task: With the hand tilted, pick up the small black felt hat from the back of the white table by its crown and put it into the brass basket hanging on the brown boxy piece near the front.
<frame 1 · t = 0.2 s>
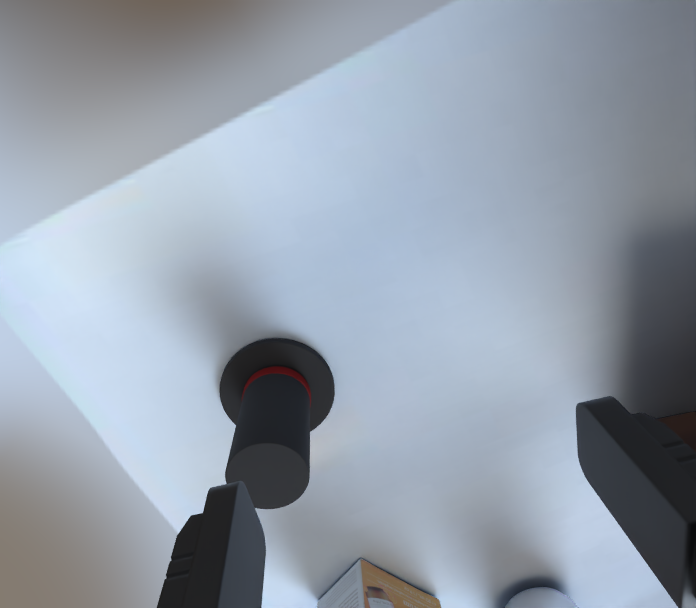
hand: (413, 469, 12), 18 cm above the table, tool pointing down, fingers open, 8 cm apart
hat: (278, 388, 32), on the table
plastic bottle: (532, 602, 41), on the table
small box: (377, 596, 39), on the table
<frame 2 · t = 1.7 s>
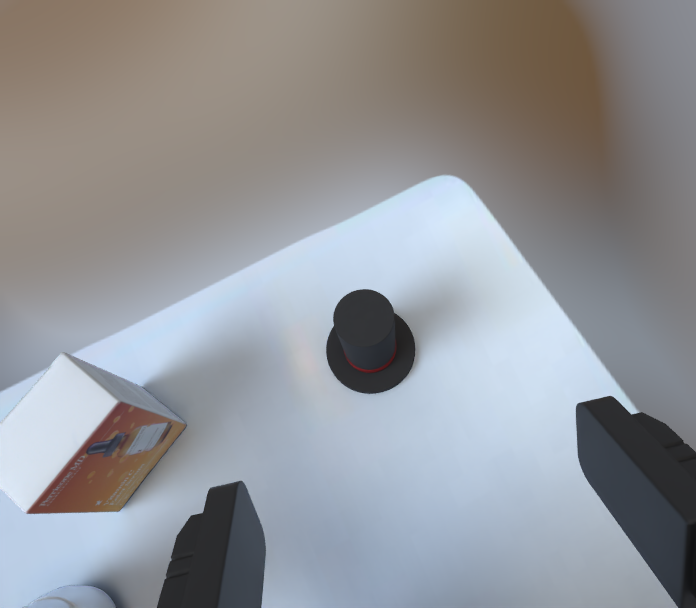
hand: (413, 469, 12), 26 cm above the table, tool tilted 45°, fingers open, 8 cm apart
hat: (370, 350, 41), on the table
small box: (132, 445, 40), on the table
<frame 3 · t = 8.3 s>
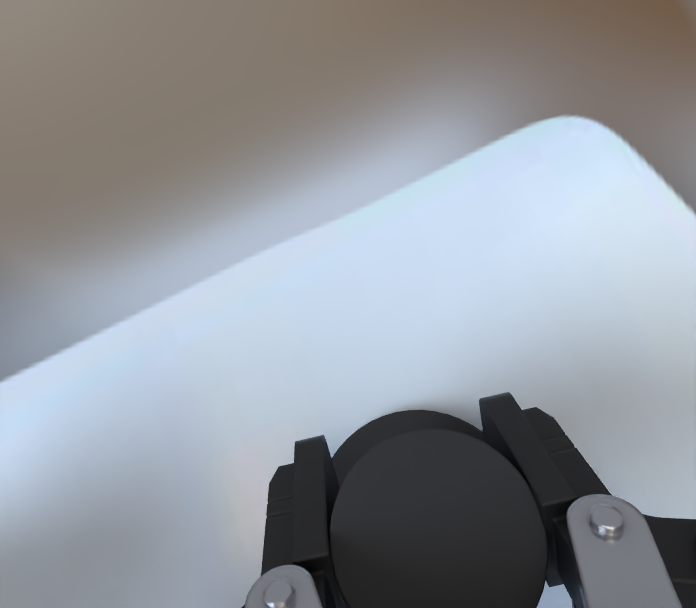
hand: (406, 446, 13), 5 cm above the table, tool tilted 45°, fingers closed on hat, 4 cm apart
hat: (420, 519, 17), on the table, touching gripper
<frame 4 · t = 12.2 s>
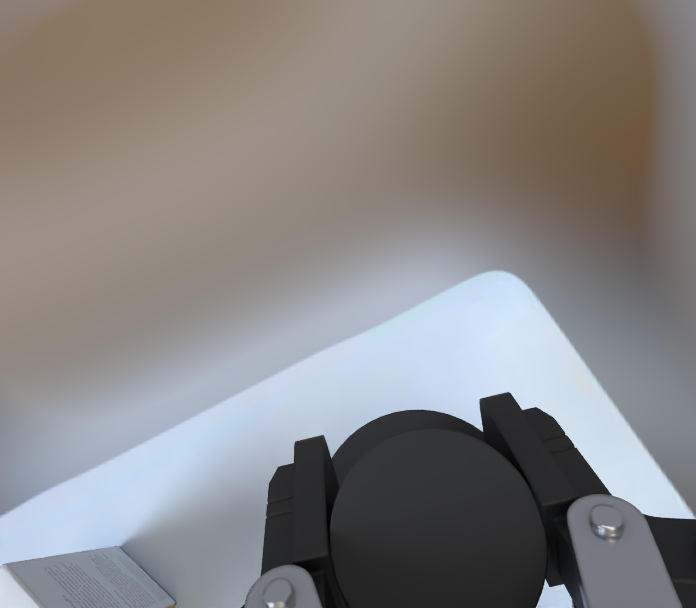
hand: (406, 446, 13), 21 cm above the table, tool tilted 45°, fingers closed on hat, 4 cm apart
hat: (420, 518, 17), point 16 cm above the table, touching gripper
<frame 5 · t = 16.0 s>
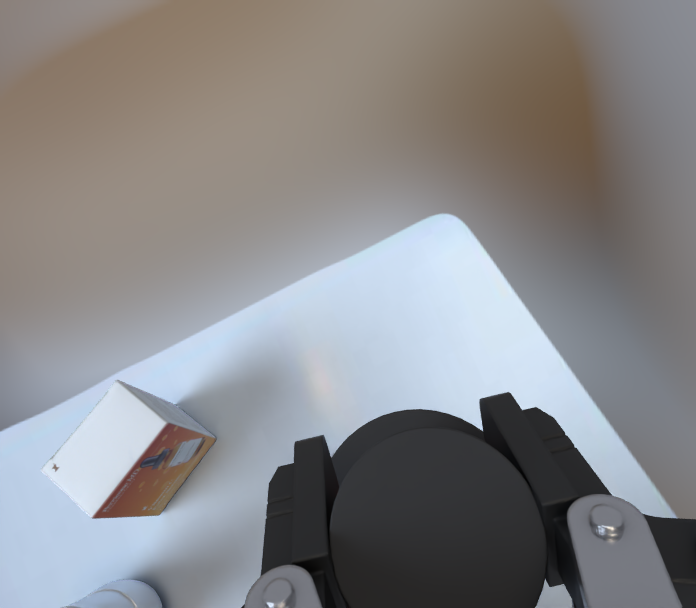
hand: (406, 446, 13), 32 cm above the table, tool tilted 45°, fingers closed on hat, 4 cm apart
hat: (420, 518, 17), point 27 cm above the table, touching gripper
small box: (168, 457, 45), on the table
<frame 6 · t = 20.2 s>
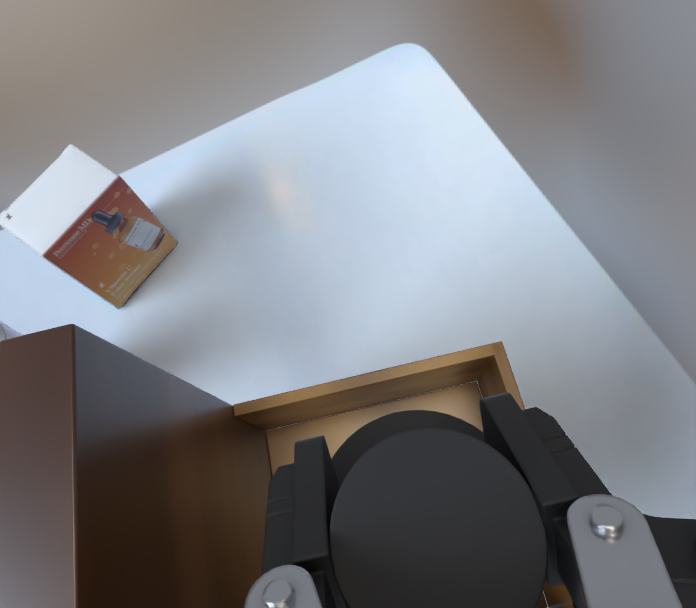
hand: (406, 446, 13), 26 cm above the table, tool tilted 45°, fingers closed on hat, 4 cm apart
brown boxy piece: (295, 531, 37), on the table
hat: (420, 518, 17), point 21 cm above the table, touching gripper
small box: (130, 261, 46), on the table
when the fingers open (14 cm above the table, at t = 23.8 s): hat stays where it is, resting on brown boxy piece.
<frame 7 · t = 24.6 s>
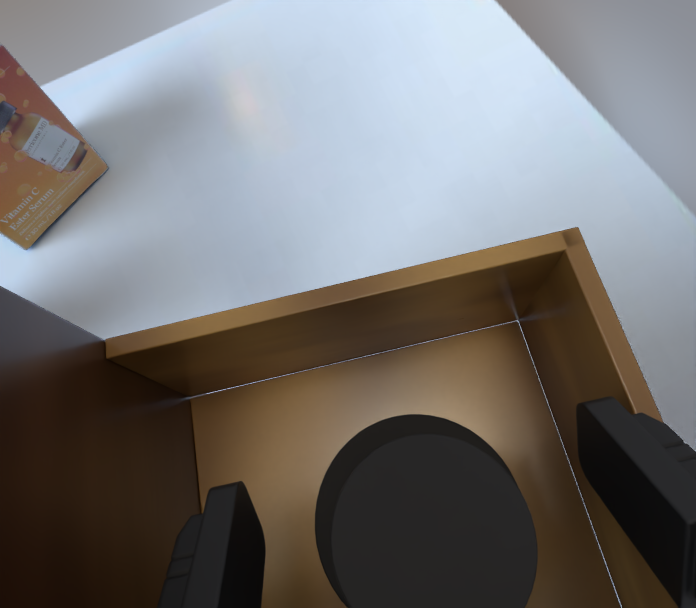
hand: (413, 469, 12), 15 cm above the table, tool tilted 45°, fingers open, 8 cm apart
brown boxy piece: (250, 548, 26), on the table
hat: (418, 520, 17), point 9 cm above the table, touching brown boxy piece
small box: (47, 191, 35), on the table
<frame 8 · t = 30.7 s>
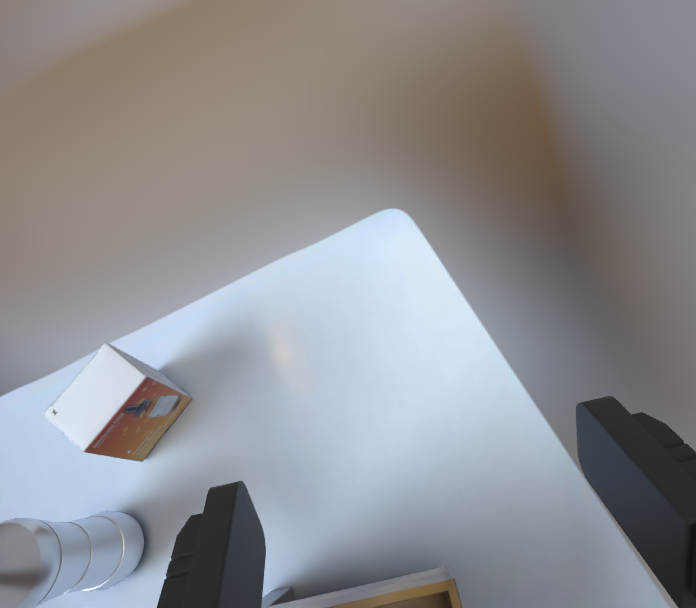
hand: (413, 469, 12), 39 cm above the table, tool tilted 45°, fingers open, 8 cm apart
plastic bottle: (119, 546, 49), on the table
small box: (151, 414, 53), on the table
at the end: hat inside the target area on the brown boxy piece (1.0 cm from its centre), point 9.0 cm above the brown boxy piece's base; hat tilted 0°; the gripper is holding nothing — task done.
